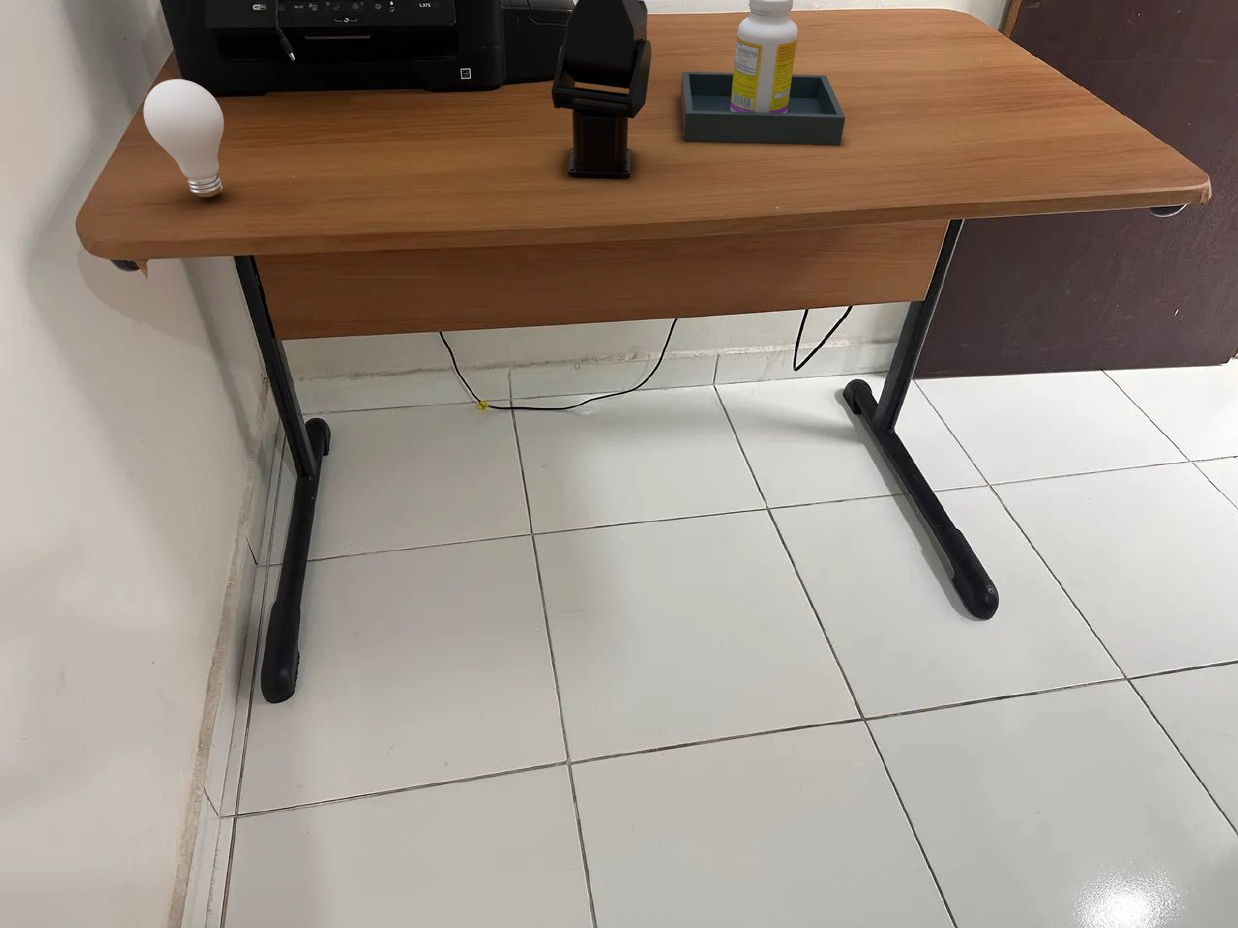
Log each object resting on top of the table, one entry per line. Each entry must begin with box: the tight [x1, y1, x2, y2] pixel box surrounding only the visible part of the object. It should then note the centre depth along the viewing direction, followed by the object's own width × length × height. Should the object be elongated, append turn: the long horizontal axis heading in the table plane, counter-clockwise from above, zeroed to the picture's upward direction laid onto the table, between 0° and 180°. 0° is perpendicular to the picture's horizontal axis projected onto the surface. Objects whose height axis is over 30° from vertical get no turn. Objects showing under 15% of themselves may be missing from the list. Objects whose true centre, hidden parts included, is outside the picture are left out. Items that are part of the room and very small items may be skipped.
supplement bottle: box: [731, 0, 799, 113], centre depth 98 cm, size 7×7×13 cm
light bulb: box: [143, 78, 225, 199], centre depth 81 cm, size 7×7×11 cm
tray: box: [679, 70, 846, 146], centre depth 101 cm, size 14×18×3 cm
